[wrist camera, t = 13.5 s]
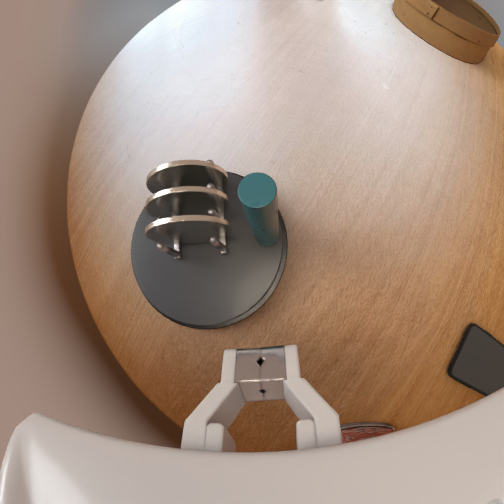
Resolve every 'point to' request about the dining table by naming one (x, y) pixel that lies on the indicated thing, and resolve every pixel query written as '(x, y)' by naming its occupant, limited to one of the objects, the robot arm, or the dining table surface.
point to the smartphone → (479, 361)
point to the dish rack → (206, 241)
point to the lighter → (364, 431)
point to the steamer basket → (450, 26)
